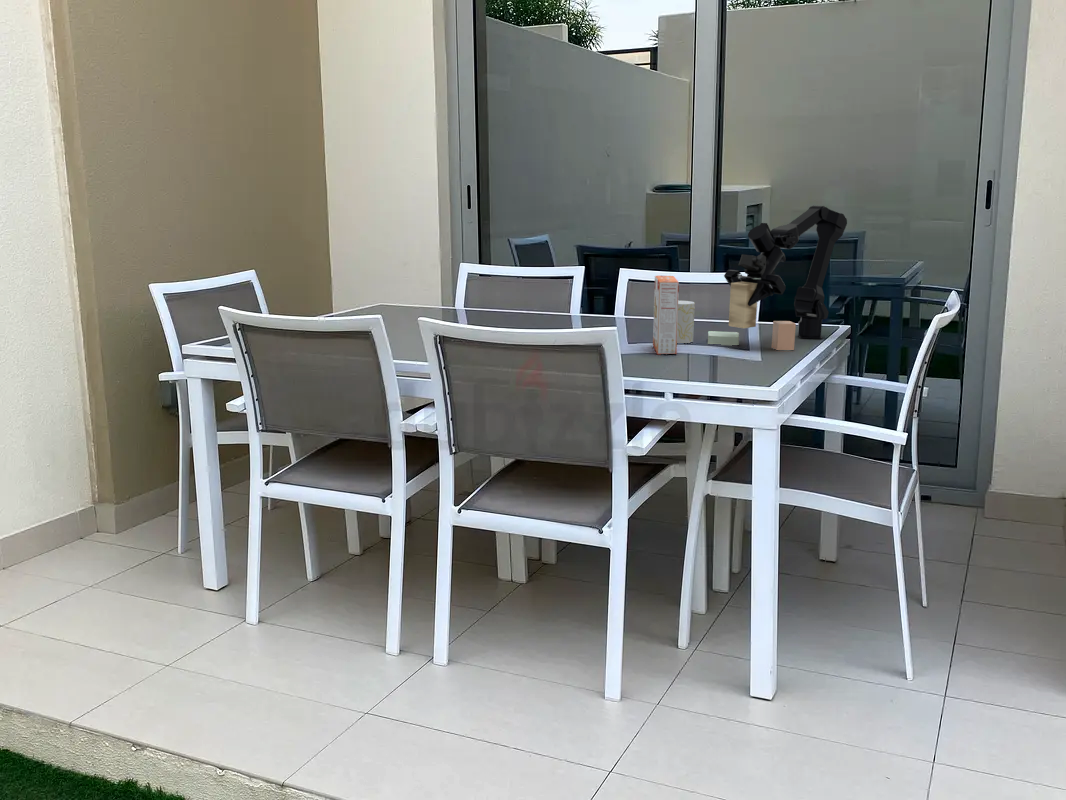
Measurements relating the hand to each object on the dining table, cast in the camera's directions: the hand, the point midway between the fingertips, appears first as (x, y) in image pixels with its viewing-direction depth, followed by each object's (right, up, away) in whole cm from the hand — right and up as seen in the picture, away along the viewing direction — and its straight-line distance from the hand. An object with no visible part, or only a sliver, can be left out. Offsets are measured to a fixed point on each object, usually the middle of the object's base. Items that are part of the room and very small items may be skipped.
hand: (740, 303), depth 297 cm
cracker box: (-22, -14, 0) cm, 26 cm away
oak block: (+1, -6, +2) cm, 7 cm away
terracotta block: (+13, -13, +4) cm, 19 cm away
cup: (-16, -10, +14) cm, 24 cm away
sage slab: (-2, -11, +14) cm, 18 cm away
